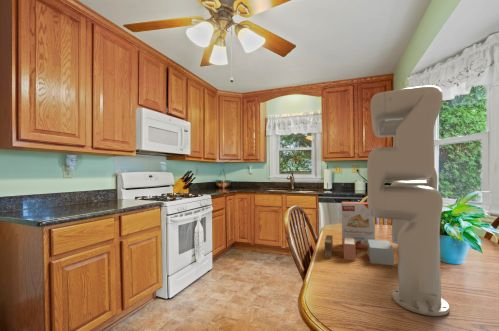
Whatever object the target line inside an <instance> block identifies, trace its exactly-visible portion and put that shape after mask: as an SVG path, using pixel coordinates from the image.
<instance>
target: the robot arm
mask: <svg viewBox="0 0 499 331" xmlns="http://www.w3.org/2000/svg"><path fill="white" fill-rule="evenodd" d="M369 105H370V116H371V125H372V126H371V127H372V130H373V133H374V136H375V137H377V138H393V140H392V141H393V146H385V147H384V146H383V147H377V148H374V149H372V150H371V151H370V152H369V154H368V157H367V166H366V167H367V170H366V172H367V177H366V178H367V181H366V182H367V202H368V208H369V212H370V214H371V215H372V216H373V217H374V218H377V219H383V220H384V219H385V220H392V222H391V242H392V243H393V244H395V245H397V249H396V250H397V251H396V252H397V273H398V274H397V277H398V279H397V280H398V281H397V282H398V288H397V289H394V290H393V291H392V296H391V297H392V300H393V301H394V302H395V303H396V304H397V305H398V306H400V307H401V308H403V309H405V310H407V311H410V312H413V313H415V314H419V315H424V316H429V317H430V316H431V317H443V316H446V315H447V314H449V313H450V304H449V303H448V302H447V301H446V300H445V299H443V298H442V280H441V276H442V274H441V273H442V271H441V250H440V249H441V247H440V246H441V245H440V244H441V243H440V238H441V237H440V235H441V234H440V230H441V229H440V227H441V218H442V212H443V205H444V204H443V196H442V194H441V192H440V191H439V190H438V174H437V170H436V168H435V134H434V133H435V132H434V129H435V125H436V121H437V119H438V116H439V114H440V111H441V108H442V105H443V91H442V89H441V88H440V87H439V86H436V85H420V86H414V87H406V88H400V89H395V90H388V91H387V90H386V91H382V92H378V93H376V94H374V95H373V97H371V100H370V104H369ZM389 181H393V182H392V183H391V184H389V185H386V183H387V182H389Z"/></svg>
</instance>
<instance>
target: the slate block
mask: <svg viewBox="0 0 499 331" xmlns="http://www.w3.org/2000/svg"><path fill="white" fill-rule="evenodd" d="M394 250H395V249H394V248H393V247H392V245H391V243H390V241H389V240H381V239H378V240H377V239H375V240H369V239H368V249H367V255H368V258H369V262H370V264H375V265H377V264H378V265H385V266H395V258H394V257H395V254H394V252H395V251H394Z"/></svg>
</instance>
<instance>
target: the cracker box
mask: <svg viewBox="0 0 499 331" xmlns="http://www.w3.org/2000/svg"><path fill="white" fill-rule="evenodd" d="M375 220H376V219H375V217H373V216H372V215H371V214H370V212H369V208H368V201H366V202H362V201H361V202H360V201H341V244H342V247H343V248H344V237H346V238H355V249H367V250H368V239H369V240H376V235H375V233H376V232H375V228H376V227H375V226H376V225H375Z"/></svg>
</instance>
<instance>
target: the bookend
mask: <svg viewBox="0 0 499 331" xmlns="http://www.w3.org/2000/svg"><path fill="white" fill-rule="evenodd" d="M333 244H334V243H333V235H329V234H327V235H325V239H324V258H325V259H332V256H333V249H334V247H333V246H334V245H333Z"/></svg>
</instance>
